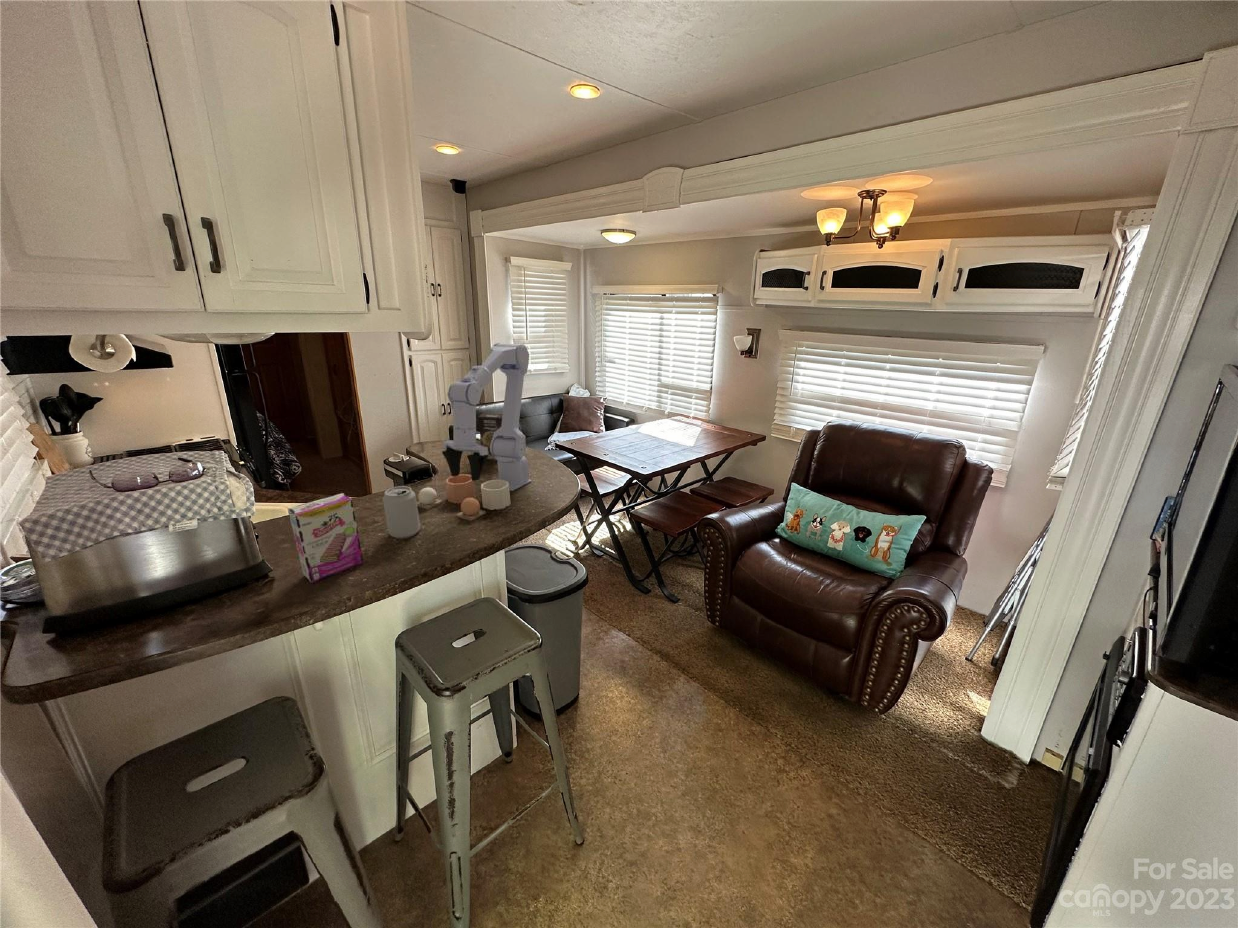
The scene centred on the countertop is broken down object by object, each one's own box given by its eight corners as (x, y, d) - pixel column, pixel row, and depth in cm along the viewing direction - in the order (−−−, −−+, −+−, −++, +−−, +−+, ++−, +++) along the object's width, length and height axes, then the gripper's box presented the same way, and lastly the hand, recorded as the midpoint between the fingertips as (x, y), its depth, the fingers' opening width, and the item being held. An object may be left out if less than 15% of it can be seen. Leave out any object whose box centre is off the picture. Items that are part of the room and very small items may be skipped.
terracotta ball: (471, 509, 136) (469, 493, 134) (484, 513, 134) (482, 497, 132) (457, 516, 132) (455, 499, 130) (471, 520, 130) (469, 503, 128)
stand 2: (471, 509, 136) (471, 507, 136) (485, 513, 134) (485, 511, 134) (456, 516, 132) (456, 514, 132) (471, 520, 129) (470, 518, 129)
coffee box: (481, 459, 176) (477, 416, 171) (488, 453, 182) (484, 412, 177) (504, 460, 175) (501, 417, 169) (511, 454, 181) (508, 413, 175)
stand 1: (430, 498, 143) (429, 496, 143) (442, 502, 140) (442, 500, 140) (414, 505, 138) (414, 503, 138) (427, 509, 136) (427, 507, 136)
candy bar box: (312, 584, 101) (294, 515, 96) (303, 576, 104) (285, 508, 99) (365, 562, 110) (352, 497, 104) (356, 555, 113) (342, 491, 107)
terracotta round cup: (462, 490, 149) (460, 472, 146) (481, 495, 145) (479, 477, 143) (442, 499, 142) (440, 481, 140) (461, 505, 139) (459, 486, 137)
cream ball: (429, 499, 143) (427, 483, 141) (441, 502, 140) (439, 487, 139) (415, 505, 138) (413, 489, 137) (427, 509, 136) (425, 493, 134)
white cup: (496, 496, 145) (494, 477, 143) (515, 501, 141) (514, 483, 139) (477, 505, 138) (475, 486, 136) (497, 511, 135) (495, 492, 133)
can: (409, 541, 119) (402, 497, 115) (382, 538, 120) (374, 494, 116) (426, 527, 126) (420, 485, 122) (401, 524, 127) (394, 483, 123)
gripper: (433, 426, 126) (434, 476, 129) (473, 432, 119) (473, 485, 122) (454, 424, 132) (455, 471, 135) (493, 429, 125) (493, 480, 128)
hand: (465, 477), depth 129 cm, fingers open, 7 cm apart
